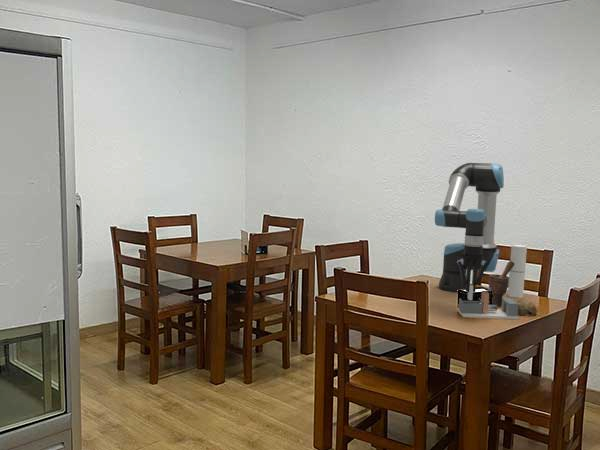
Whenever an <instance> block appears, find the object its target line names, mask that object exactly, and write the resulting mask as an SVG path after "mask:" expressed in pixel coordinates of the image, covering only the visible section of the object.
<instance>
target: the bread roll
mask: <svg viewBox="0 0 600 450" xmlns="http://www.w3.org/2000/svg"><path fill="white" fill-rule="evenodd" d="M516 302H517V303H518V316H524V317H532V316H533V317H534V316H536V315H537V313H538V312H537V311H538V310H537V307H536V305H535V304H534V303H533V302H532V301H531V300H528V299H519V300H517V301H516Z"/></svg>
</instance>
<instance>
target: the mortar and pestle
mask: <svg viewBox="0 0 600 450" xmlns="http://www.w3.org/2000/svg"><path fill="white" fill-rule="evenodd" d="M513 266H514V262H512V261H510V260H509V261H508V262H507V264H506V265H505V267H504V270H503V272H502V273H501V274H495V273H494V274H493V273H492V274H489V275H488V276H489V277H488V289H489V292H490V291H492V294H491V296H492V295H493V298H492V304H491V305H497V306H502V298H503V296H504V295H505V294H506V293H507V292H508V285H509V276H508V274H509V272H510V270H511V269H512V268H513Z"/></svg>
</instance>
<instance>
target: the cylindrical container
mask: <svg viewBox="0 0 600 450" xmlns="http://www.w3.org/2000/svg"><path fill="white" fill-rule="evenodd" d="M527 250H528V246H527V245H523V244H511V246H510V260H509V261H512V262H514V266H513V268H512V269H511V270H510V271H509V273H508V274H509V276H508V277H509V279H508V288H507V296H508V297H511V298H516V299H517V298H523V297H524V289H525V288H524V287H525V275H526V265H527V263H526V262H527Z"/></svg>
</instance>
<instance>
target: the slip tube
mask: <svg viewBox="0 0 600 450" xmlns="http://www.w3.org/2000/svg"><path fill="white" fill-rule="evenodd" d="M480 294H481V297H480V304H482V313H488V311H497V309H498V305H493V304H489V299H490V293H489V291H487V290H481V293H480Z"/></svg>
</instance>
